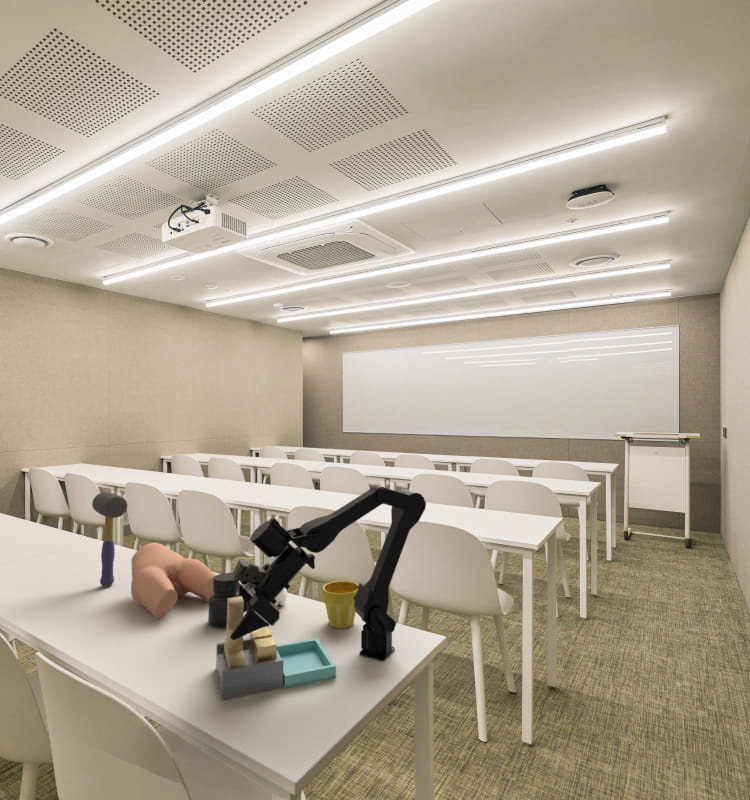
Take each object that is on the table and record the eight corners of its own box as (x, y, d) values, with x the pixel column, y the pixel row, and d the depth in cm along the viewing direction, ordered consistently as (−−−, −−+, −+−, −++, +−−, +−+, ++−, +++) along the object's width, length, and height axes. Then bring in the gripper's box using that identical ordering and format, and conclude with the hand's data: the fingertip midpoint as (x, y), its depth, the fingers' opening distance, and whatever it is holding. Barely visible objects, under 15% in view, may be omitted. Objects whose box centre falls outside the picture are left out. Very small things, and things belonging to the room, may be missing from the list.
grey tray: (270, 658, 112) (271, 634, 112) (282, 687, 100) (283, 660, 100) (215, 668, 107) (216, 643, 107) (222, 700, 95) (222, 671, 95)
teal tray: (317, 648, 116) (317, 638, 117) (335, 677, 104) (336, 666, 104) (271, 657, 112) (271, 646, 112) (284, 688, 99) (285, 676, 99)
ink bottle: (250, 617, 134) (250, 573, 135) (232, 630, 126) (233, 583, 126) (219, 613, 137) (220, 570, 137) (200, 625, 128) (201, 580, 129)
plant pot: (313, 622, 131) (314, 586, 132) (342, 612, 139) (343, 577, 139) (338, 635, 124) (339, 596, 124) (367, 623, 131) (368, 587, 131)
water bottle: (288, 599, 148) (290, 517, 148) (285, 609, 140) (286, 522, 141) (265, 599, 147) (266, 516, 148) (260, 609, 140) (262, 521, 141)
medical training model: (149, 635, 131) (158, 592, 129) (109, 587, 146) (117, 548, 144) (216, 611, 148) (224, 573, 146) (174, 570, 162) (181, 535, 161)
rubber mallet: (126, 587, 156) (129, 494, 157) (101, 594, 150) (104, 496, 151) (112, 578, 164) (114, 489, 165) (87, 584, 158) (90, 492, 159)
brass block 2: (272, 655, 105) (272, 636, 105) (276, 664, 101) (276, 644, 101) (253, 658, 103) (254, 639, 103) (256, 667, 100) (257, 648, 100)
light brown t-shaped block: (238, 648, 107) (239, 591, 108) (244, 669, 99) (246, 606, 99) (224, 651, 106) (225, 593, 106) (229, 672, 97) (230, 608, 98)
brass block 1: (268, 645, 110) (268, 627, 110) (271, 653, 106) (272, 634, 106) (250, 648, 108) (250, 630, 108) (253, 656, 104) (253, 637, 104)
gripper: (250, 536, 113) (198, 590, 109) (264, 558, 96) (204, 623, 91) (282, 567, 116) (233, 621, 111) (302, 593, 99) (245, 658, 94)
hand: (229, 629), depth 102 cm, fingers open, 9 cm apart
